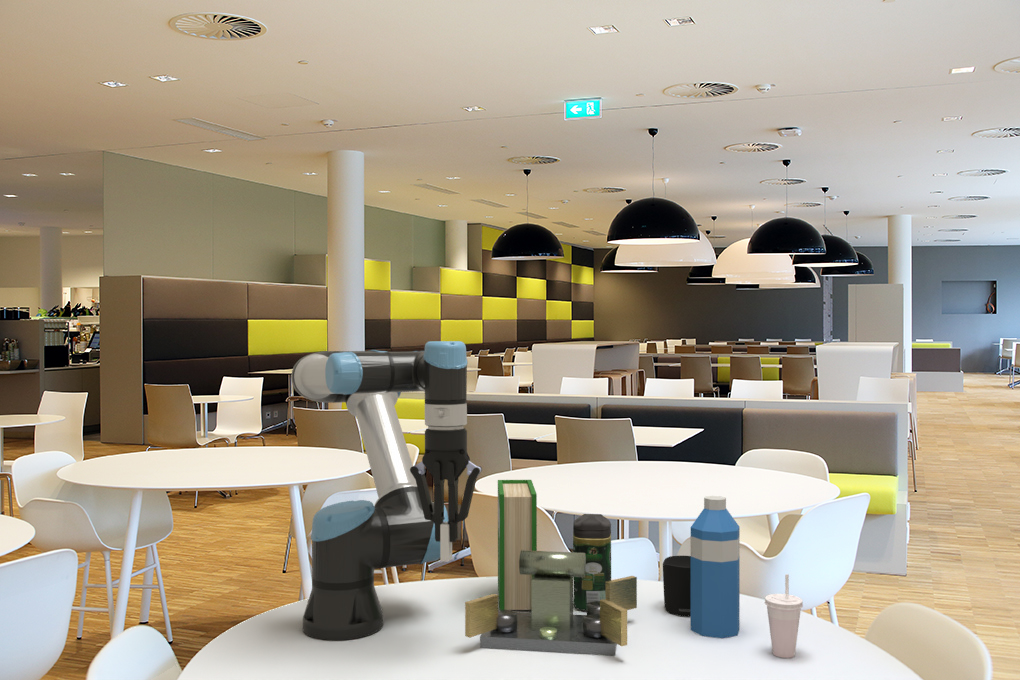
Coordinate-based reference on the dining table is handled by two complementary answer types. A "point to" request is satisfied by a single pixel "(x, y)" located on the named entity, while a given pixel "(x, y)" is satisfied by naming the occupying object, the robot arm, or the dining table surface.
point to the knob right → (607, 623)
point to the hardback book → (515, 541)
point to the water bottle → (715, 571)
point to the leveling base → (548, 645)
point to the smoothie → (783, 621)
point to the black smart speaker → (677, 585)
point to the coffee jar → (592, 558)
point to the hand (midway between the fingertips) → (446, 559)
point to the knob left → (487, 616)
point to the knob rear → (617, 595)
